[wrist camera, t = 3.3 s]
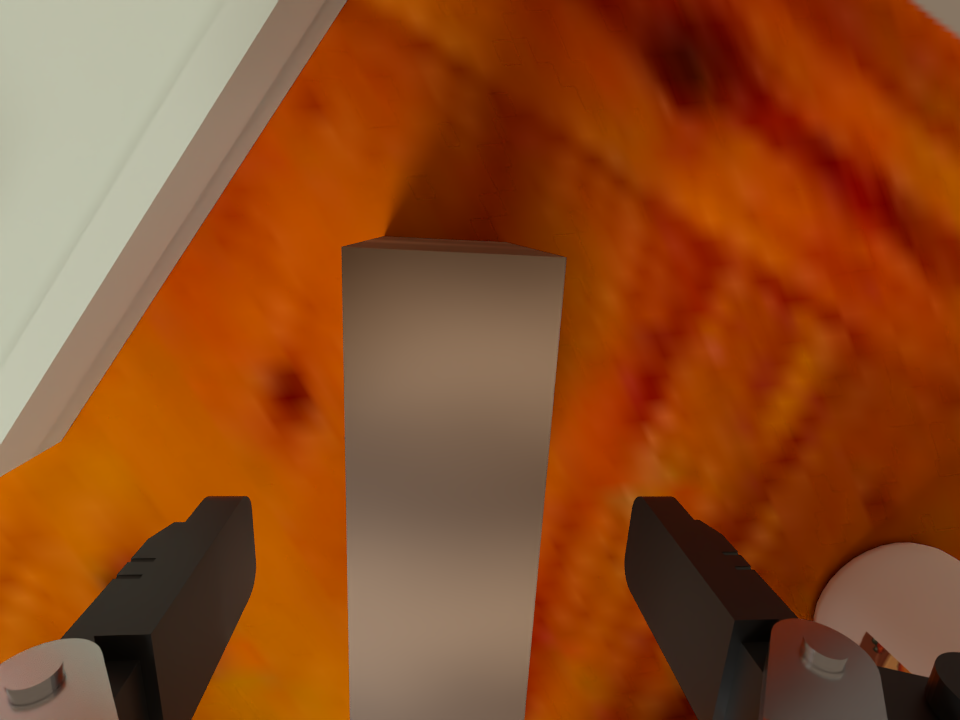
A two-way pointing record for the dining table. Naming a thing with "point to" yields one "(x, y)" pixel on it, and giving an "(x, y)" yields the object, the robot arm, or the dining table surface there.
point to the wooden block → (445, 470)
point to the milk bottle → (897, 605)
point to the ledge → (117, 172)
